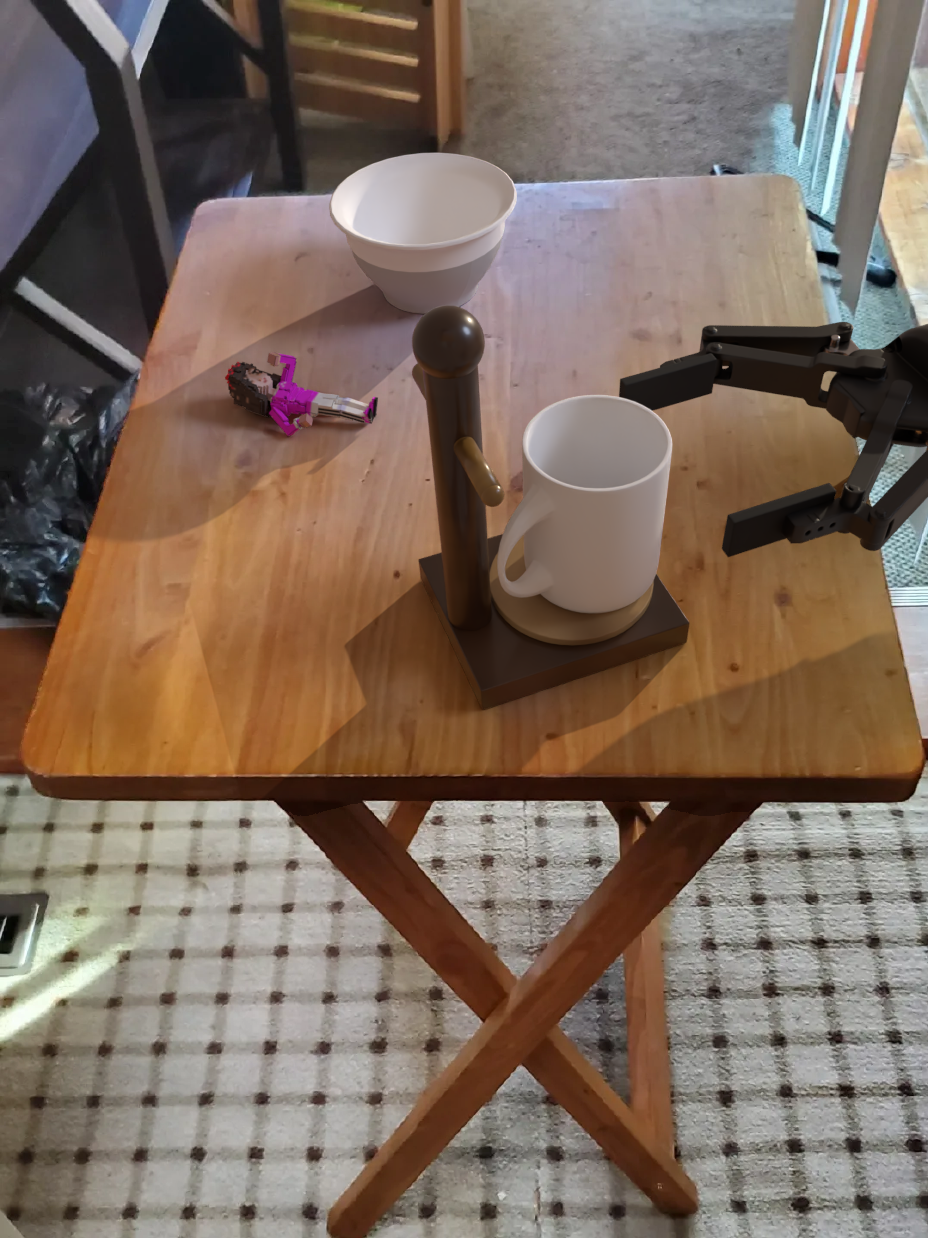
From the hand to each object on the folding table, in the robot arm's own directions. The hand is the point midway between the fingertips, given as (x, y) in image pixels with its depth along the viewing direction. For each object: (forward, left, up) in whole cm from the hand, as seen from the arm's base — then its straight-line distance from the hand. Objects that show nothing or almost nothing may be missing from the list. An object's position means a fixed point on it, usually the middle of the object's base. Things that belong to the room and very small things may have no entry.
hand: (670, 463), depth 65 cm
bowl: (+26, -30, -10) cm, 41 cm away
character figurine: (+30, -10, -10) cm, 34 cm away
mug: (+5, +4, -8) cm, 10 cm away
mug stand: (+6, +5, -10) cm, 13 cm away
